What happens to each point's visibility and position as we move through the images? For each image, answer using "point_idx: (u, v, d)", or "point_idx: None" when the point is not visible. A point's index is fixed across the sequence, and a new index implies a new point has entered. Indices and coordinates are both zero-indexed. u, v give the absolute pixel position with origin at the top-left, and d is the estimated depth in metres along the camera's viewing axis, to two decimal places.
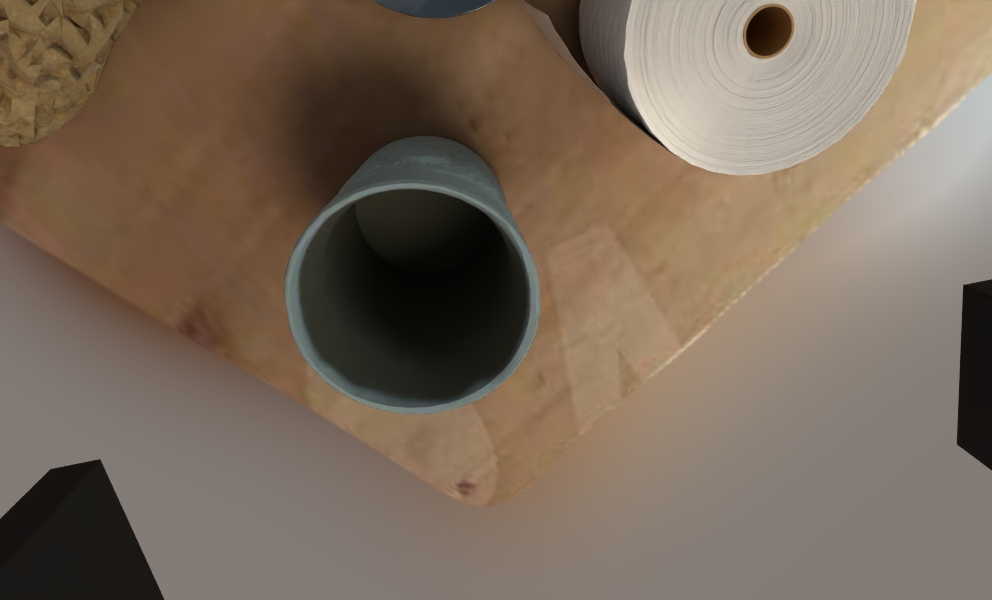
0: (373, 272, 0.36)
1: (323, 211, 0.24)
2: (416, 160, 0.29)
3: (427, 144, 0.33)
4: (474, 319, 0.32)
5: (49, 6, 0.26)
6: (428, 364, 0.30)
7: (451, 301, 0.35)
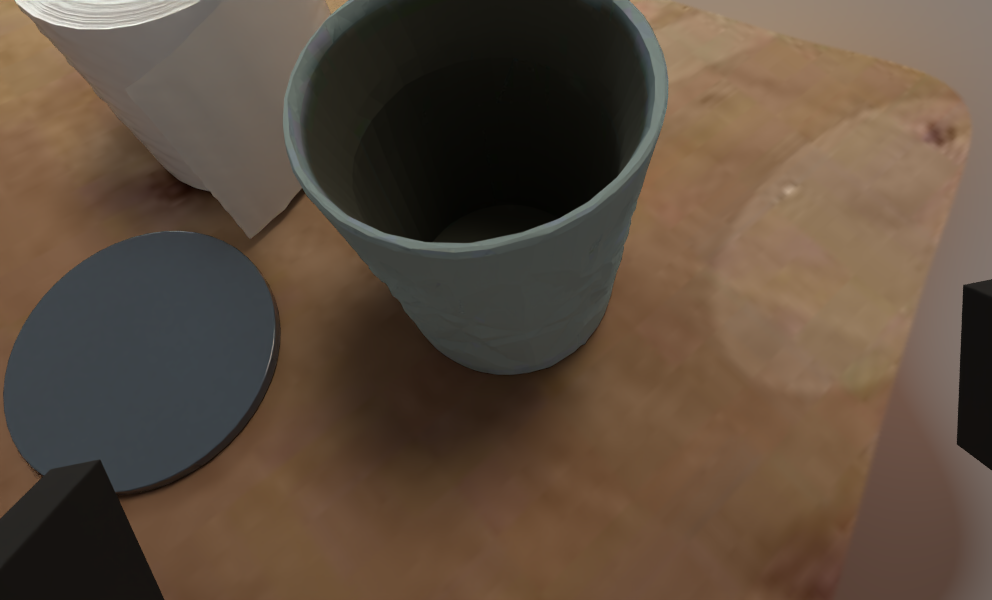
0: None
1: (338, 221, 0.16)
2: None
3: None
4: (564, 112, 0.23)
5: None
6: (614, 102, 0.20)
7: (584, 181, 0.25)
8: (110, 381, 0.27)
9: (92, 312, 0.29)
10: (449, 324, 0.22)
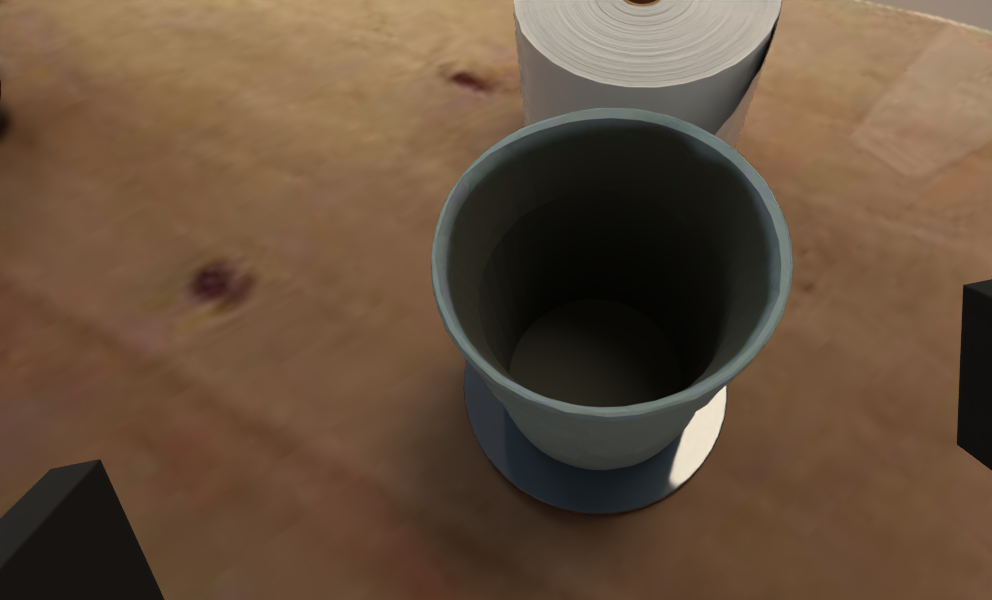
0: None
1: (495, 382, 0.18)
2: None
3: None
4: (664, 235, 0.25)
5: None
6: (725, 243, 0.22)
7: (676, 291, 0.27)
8: None
9: None
10: (565, 442, 0.23)
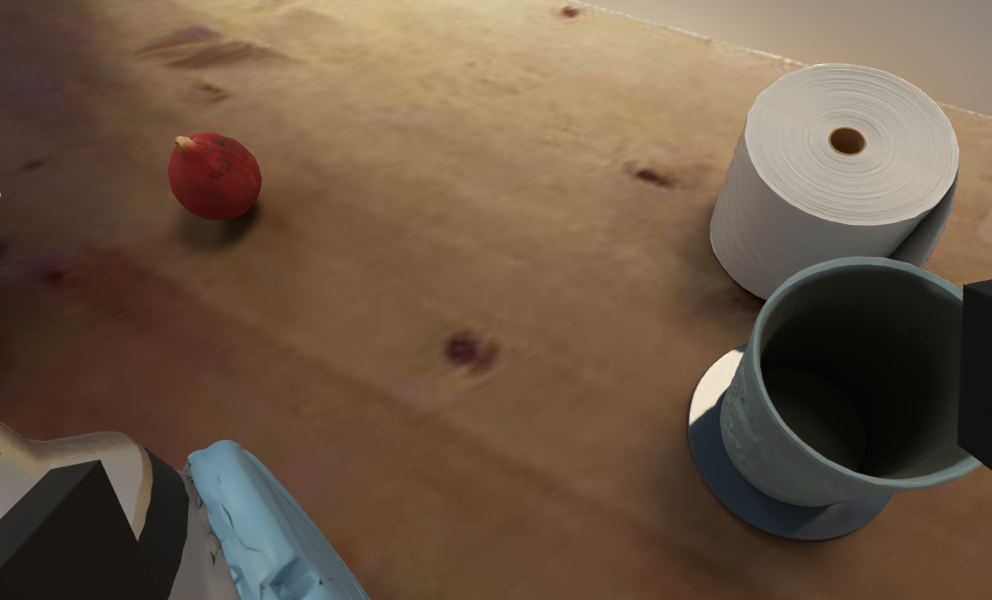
0: (880, 458, 0.35)
1: (820, 462, 0.26)
2: (745, 423, 0.32)
3: (730, 434, 0.36)
4: (877, 335, 0.33)
5: None
6: (944, 351, 0.30)
7: (873, 371, 0.35)
8: None
9: None
10: (815, 491, 0.32)
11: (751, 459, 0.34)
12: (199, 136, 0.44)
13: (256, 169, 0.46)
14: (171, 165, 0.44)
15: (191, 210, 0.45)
